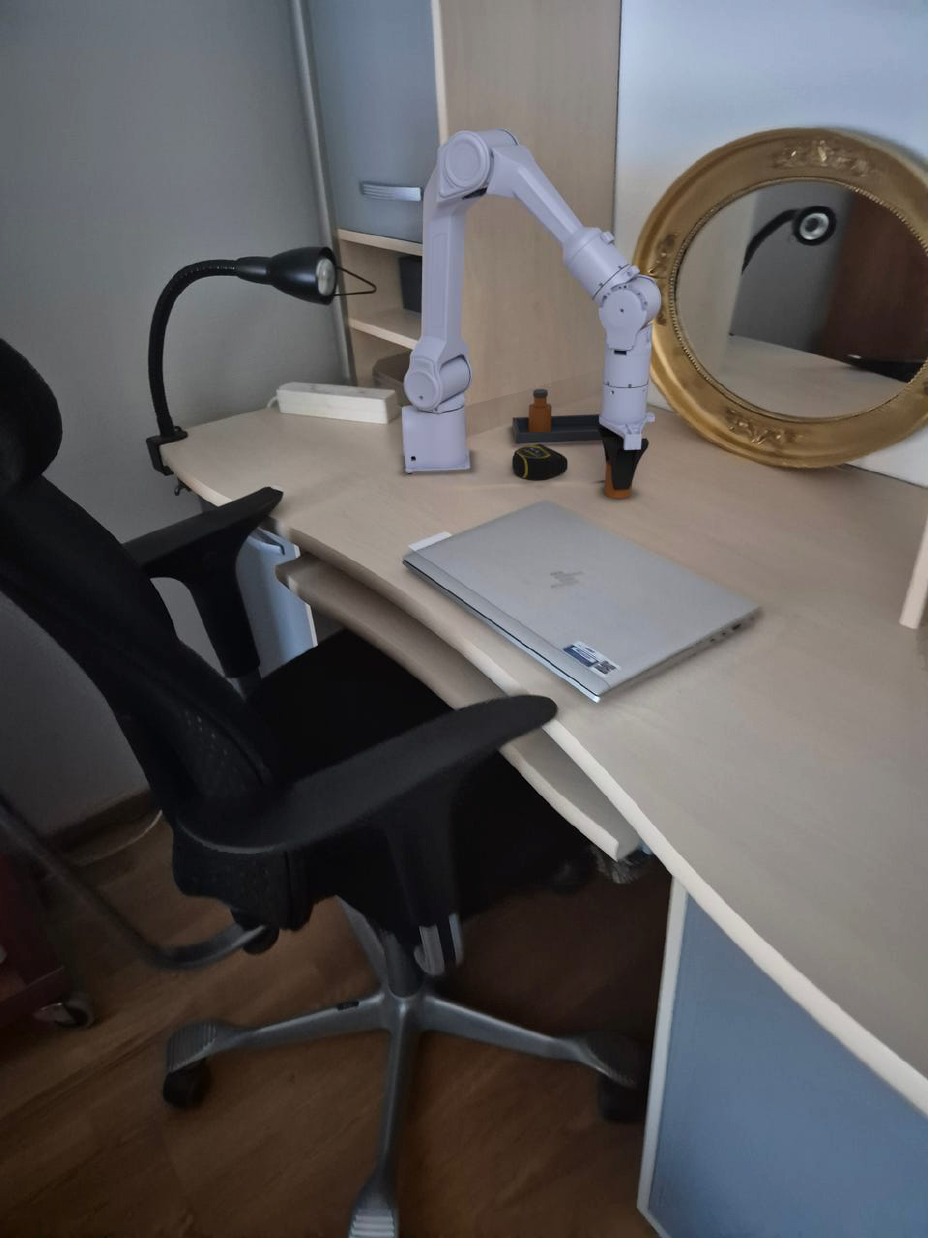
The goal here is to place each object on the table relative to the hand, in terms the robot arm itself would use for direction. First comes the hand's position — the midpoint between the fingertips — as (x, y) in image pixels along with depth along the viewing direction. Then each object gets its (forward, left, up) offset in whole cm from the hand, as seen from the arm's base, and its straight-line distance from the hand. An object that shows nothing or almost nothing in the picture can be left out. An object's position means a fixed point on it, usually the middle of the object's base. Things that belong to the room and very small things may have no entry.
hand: (618, 482), depth 109 cm
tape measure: (-10, +8, -2) cm, 13 cm away
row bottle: (-9, +24, -1) cm, 25 cm away
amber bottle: (0, 0, -2) cm, 2 cm away
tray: (-5, +24, -2) cm, 25 cm away
